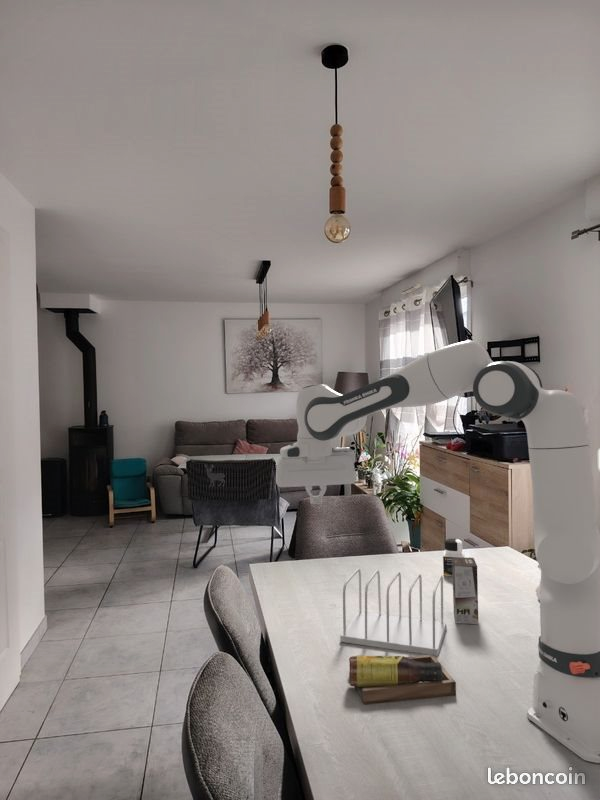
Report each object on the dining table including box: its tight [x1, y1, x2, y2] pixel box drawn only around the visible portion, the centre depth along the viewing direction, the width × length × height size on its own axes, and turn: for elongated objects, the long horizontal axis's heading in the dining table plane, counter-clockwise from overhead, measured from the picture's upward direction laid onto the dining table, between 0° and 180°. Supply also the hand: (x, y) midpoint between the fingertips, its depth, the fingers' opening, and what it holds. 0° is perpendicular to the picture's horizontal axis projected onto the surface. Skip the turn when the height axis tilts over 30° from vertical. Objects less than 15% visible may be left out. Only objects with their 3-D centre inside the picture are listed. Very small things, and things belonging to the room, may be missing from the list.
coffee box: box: [452, 557, 479, 625], centre depth 161 cm, size 9×6×16 cm
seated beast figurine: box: [535, 564, 541, 601], centre depth 172 cm, size 10×9×12 cm
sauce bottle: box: [348, 654, 442, 687], centre depth 123 cm, size 7×6×20 cm
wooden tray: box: [355, 654, 457, 705], centre depth 125 cm, size 13×20×3 cm, turn 98°
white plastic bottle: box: [442, 538, 465, 577], centre depth 201 cm, size 7×7×12 cm
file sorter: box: [339, 568, 447, 657], centre depth 150 cm, size 25×17×16 cm
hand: (316, 503), depth 143 cm, fingers closed
